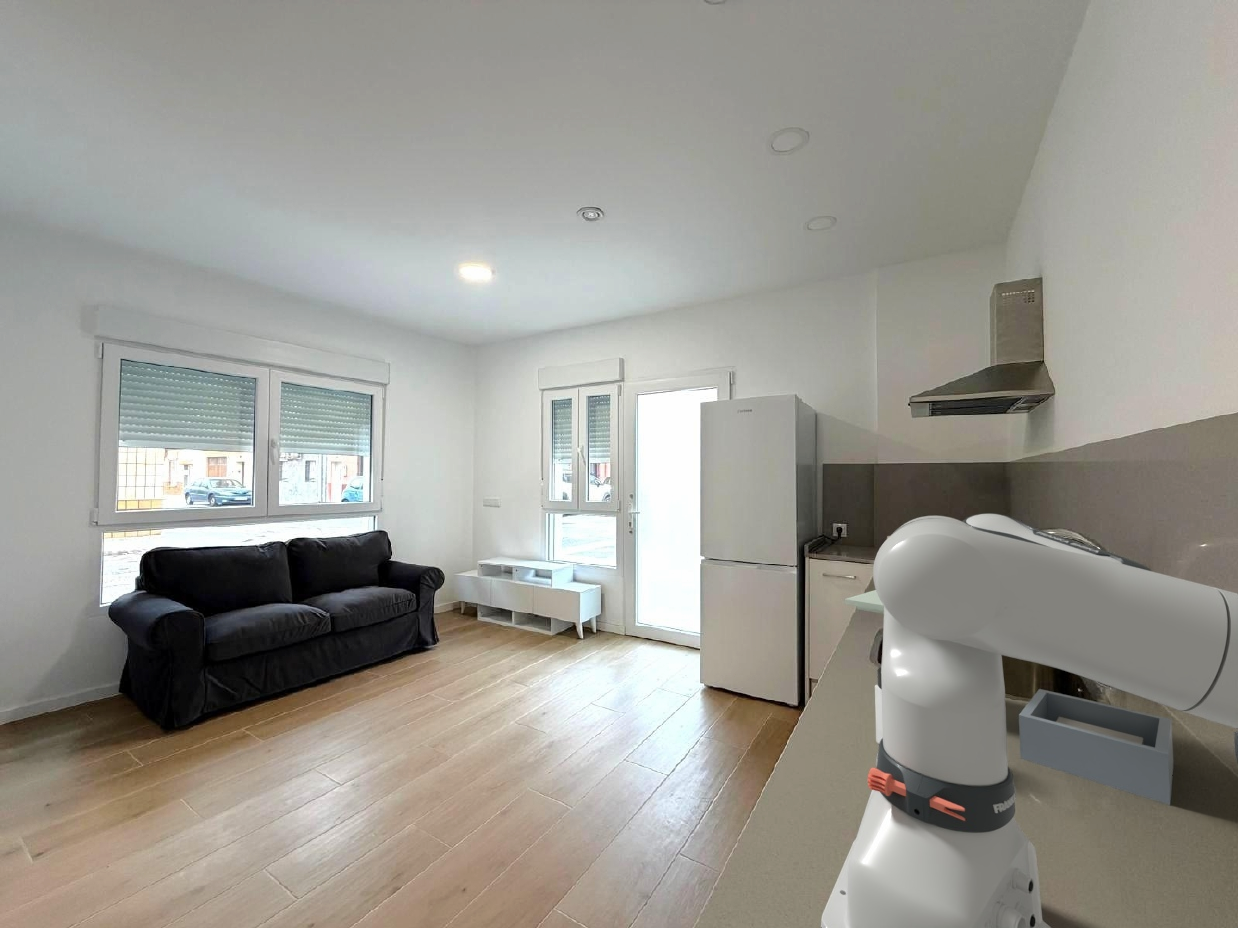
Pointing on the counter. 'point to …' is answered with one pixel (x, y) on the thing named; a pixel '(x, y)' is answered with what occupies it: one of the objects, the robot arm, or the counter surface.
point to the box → (1099, 743)
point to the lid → (867, 601)
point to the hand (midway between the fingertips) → (896, 558)
